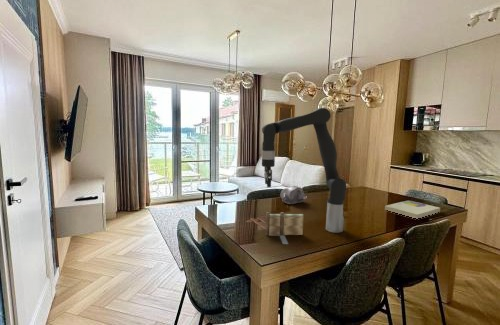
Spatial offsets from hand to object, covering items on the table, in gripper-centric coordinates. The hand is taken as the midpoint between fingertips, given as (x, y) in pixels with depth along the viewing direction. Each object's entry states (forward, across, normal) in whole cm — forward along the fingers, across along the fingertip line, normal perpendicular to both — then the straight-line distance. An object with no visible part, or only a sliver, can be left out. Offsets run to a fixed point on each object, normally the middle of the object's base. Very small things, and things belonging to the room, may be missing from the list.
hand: (267, 185), depth 145 cm
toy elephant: (+28, +60, -31) cm, 73 cm away
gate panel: (+27, -8, -14) cm, 31 cm away
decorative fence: (+28, +8, +2) cm, 30 cm away
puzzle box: (+31, +36, -120) cm, 130 cm away
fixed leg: (+27, -8, -3) cm, 28 cm away
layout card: (+28, -12, -7) cm, 31 cm away
